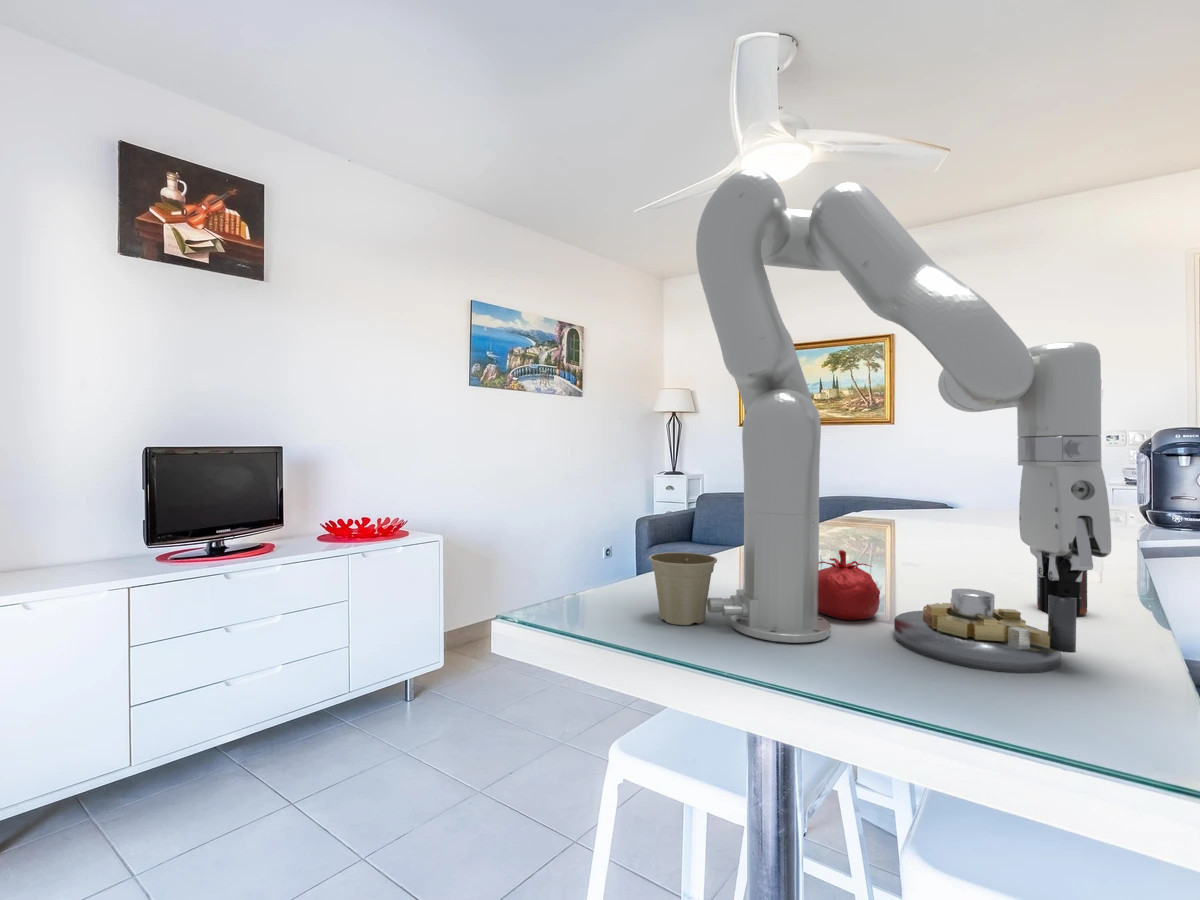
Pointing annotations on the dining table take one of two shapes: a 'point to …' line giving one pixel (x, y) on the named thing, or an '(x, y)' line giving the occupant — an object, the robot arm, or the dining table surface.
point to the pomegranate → (847, 591)
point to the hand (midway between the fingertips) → (1059, 613)
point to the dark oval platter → (971, 651)
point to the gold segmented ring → (1011, 624)
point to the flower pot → (682, 585)
